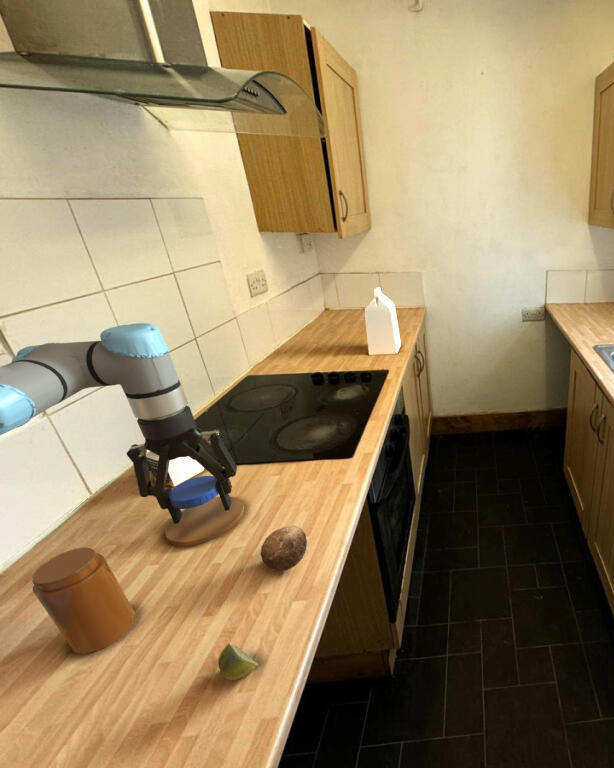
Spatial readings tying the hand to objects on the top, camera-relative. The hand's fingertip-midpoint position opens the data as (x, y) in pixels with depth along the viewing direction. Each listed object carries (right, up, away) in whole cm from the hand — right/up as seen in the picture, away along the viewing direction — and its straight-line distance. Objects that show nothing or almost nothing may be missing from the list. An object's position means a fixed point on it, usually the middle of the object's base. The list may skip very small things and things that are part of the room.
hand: (203, 512), depth 83 cm
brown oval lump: (+21, -6, -8) cm, 23 cm away
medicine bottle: (-17, +4, +15) cm, 23 cm away
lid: (0, +5, -2) cm, 6 cm away
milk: (+7, +40, +96) cm, 104 cm away
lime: (+25, -14, -26) cm, 38 cm away
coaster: (0, -2, +1) cm, 2 cm away
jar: (0, -12, -20) cm, 23 cm away
